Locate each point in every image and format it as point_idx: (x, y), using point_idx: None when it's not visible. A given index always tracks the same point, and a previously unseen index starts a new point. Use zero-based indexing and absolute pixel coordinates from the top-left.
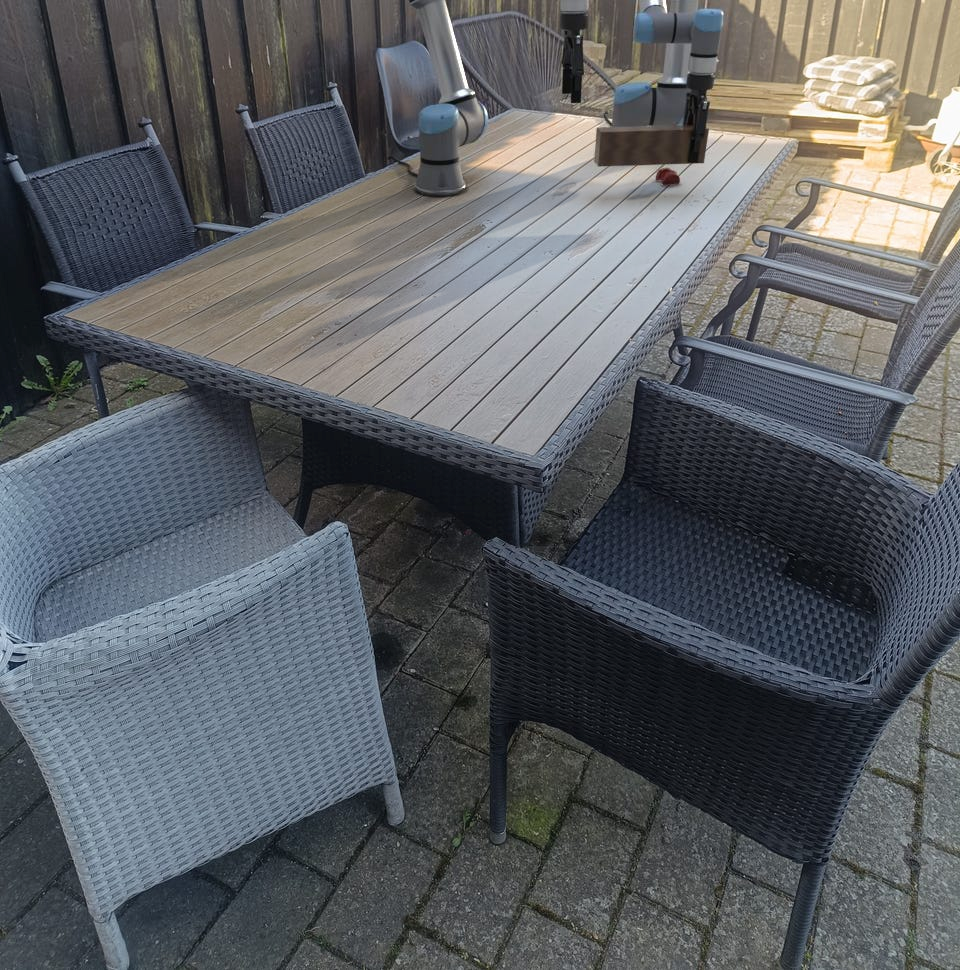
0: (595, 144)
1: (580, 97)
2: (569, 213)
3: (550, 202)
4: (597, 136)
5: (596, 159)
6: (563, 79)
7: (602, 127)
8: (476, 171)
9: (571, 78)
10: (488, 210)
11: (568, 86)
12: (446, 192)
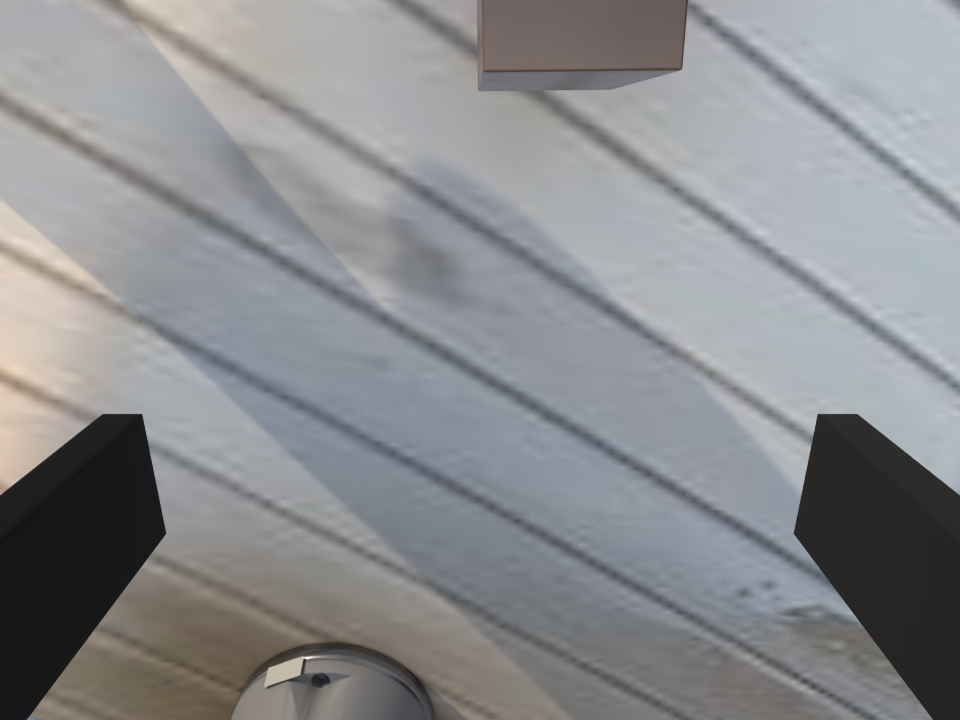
0: (486, 83)
1: (898, 457)
2: (731, 271)
3: (554, 330)
4: (541, 76)
5: (549, 88)
6: (45, 675)
7: (491, 3)
8: None
9: (1, 555)
10: (622, 582)
11: (99, 517)
12: (431, 718)
